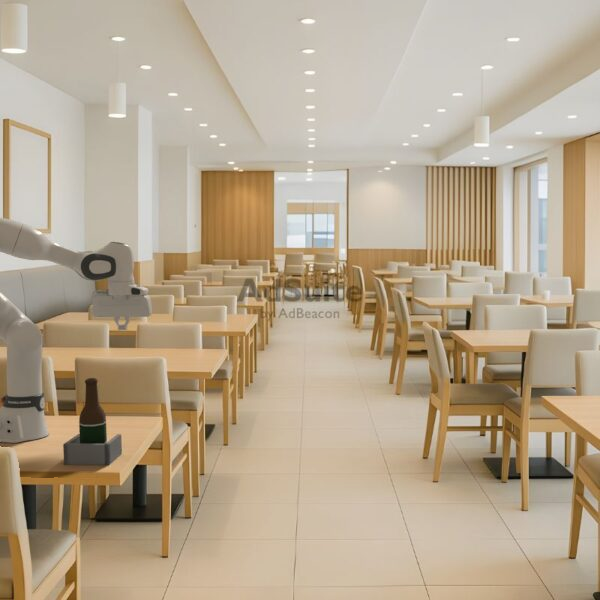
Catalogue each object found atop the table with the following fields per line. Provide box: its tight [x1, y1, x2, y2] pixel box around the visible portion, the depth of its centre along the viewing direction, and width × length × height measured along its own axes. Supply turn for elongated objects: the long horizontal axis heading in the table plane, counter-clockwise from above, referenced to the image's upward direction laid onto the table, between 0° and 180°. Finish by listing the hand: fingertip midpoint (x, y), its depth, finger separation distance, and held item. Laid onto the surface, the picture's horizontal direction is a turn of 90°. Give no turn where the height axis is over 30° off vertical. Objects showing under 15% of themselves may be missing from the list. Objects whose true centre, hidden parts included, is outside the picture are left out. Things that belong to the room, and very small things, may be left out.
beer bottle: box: [78, 377, 108, 444], centre depth 237 cm, size 8×8×24 cm
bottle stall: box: [62, 433, 123, 466], centre depth 237 cm, size 13×12×6 cm
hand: (122, 330), depth 272 cm, fingers closed
